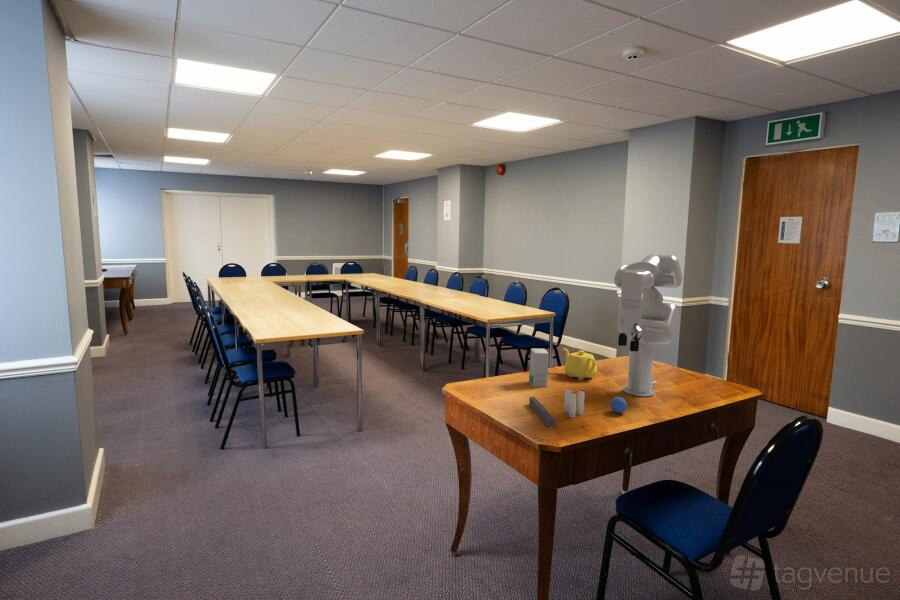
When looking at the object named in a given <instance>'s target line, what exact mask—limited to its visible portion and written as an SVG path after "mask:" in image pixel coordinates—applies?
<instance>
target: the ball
mask: <svg viewBox="0 0 900 600" xmlns="http://www.w3.org/2000/svg"><path fill="white" fill-rule="evenodd" d="M609 403H610V404H609V405H610V406H609V407H610V408H611V410H612V411H613V412H614V413H615V414H623V413H625V412H626V410H627V408H628V403H627V400H625V398H623V397H621V396H615V397H613V398H612V399H611V401H610V402H609Z"/></svg>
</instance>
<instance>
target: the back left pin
mask: <svg viewBox="0 0 900 600" xmlns="http://www.w3.org/2000/svg"><path fill="white" fill-rule="evenodd" d="M577 397H578V394H576V393H572V392H571V394H570V400H569V413H568V417H569V418H570V417H571V419H576V417H577V416H576V415H577Z"/></svg>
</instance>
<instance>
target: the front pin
mask: <svg viewBox="0 0 900 600" xmlns="http://www.w3.org/2000/svg"><path fill="white" fill-rule="evenodd" d="M585 393H586V392H585V391H582V390H579V391H577V398H576V415H578V416H583V415H584V412H585V411H584V410H585V408H584V407H585Z"/></svg>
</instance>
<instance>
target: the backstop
mask: <svg viewBox="0 0 900 600" xmlns="http://www.w3.org/2000/svg"><path fill="white" fill-rule="evenodd" d="M528 401H529V402H528V403H529V404H528V405H529V406H530V407H531V408H532V409H533V411H534V412H535V413H536V414H537V416H538V417H539V418H540V419H541V420H542V421H543V423H544V422H545V423H544V424H545V425H546V426H547V427H555V426H556V425H555V424H556V420H555V418H554V416H552V415H551V414H550V412H549V411H548V410H547V409H546V408H545V406H543V405H542V403H541V402H540V400H538V399H537V397H536V396H529V400H528ZM555 428H556V427H555Z"/></svg>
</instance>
